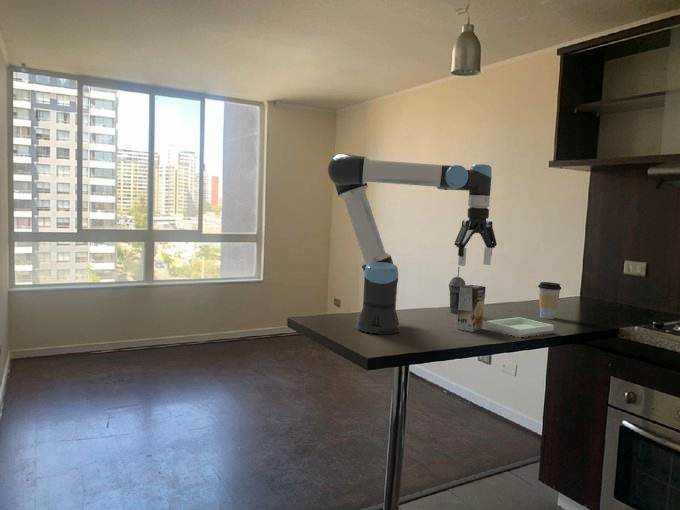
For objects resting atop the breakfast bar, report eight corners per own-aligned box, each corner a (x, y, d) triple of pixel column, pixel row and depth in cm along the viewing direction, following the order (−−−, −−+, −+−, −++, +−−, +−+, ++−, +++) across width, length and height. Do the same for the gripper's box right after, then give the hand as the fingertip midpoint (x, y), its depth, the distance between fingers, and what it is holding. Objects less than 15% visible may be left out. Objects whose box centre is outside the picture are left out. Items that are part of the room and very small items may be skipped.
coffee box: (472, 332, 186) (475, 288, 185) (456, 329, 190) (459, 286, 189) (482, 328, 193) (486, 286, 192) (467, 325, 197) (470, 284, 196)
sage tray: (519, 338, 180) (520, 329, 180) (485, 328, 193) (486, 321, 193) (553, 333, 192) (554, 325, 191) (519, 324, 204) (519, 317, 204)
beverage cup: (446, 313, 220) (449, 266, 219) (447, 310, 227) (450, 265, 226) (463, 314, 218) (466, 268, 217) (464, 312, 225) (467, 266, 223)
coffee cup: (554, 316, 226) (557, 282, 225) (561, 320, 217) (565, 285, 215) (532, 314, 227) (535, 281, 226) (538, 319, 218) (541, 284, 216)
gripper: (462, 206, 178) (458, 267, 179) (509, 209, 192) (504, 265, 193) (446, 205, 184) (443, 264, 186) (492, 208, 198) (488, 263, 200)
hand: (474, 265), depth 190 cm, fingers open, 13 cm apart
